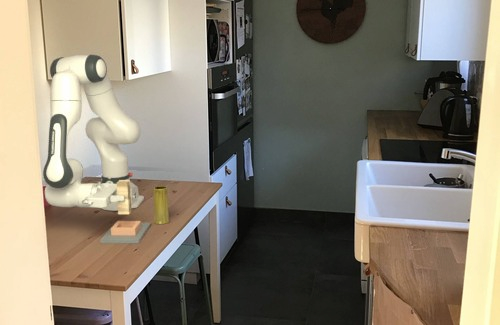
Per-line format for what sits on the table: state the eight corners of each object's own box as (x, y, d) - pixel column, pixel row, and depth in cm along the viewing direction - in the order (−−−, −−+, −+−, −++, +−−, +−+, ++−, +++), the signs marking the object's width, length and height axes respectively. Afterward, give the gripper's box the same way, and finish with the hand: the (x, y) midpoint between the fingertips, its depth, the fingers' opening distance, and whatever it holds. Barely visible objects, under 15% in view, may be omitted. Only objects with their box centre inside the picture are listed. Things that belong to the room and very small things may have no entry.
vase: (169, 219, 227) (167, 185, 223) (169, 223, 221) (168, 189, 217) (154, 220, 226) (152, 185, 222) (154, 224, 220) (152, 190, 216)
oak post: (121, 211, 210) (119, 180, 208) (131, 211, 210) (130, 180, 207) (118, 214, 206) (116, 182, 204) (128, 214, 206) (127, 182, 203)
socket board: (115, 224, 220) (115, 216, 219) (150, 225, 219) (150, 216, 219) (100, 243, 201) (99, 233, 200) (138, 243, 200) (138, 234, 199)
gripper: (79, 194, 196) (118, 195, 196) (97, 180, 216) (133, 180, 216) (80, 212, 198) (119, 212, 197) (98, 196, 218) (133, 196, 217)
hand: (126, 195), depth 207 cm, fingers closed on oak post, 4 cm apart
